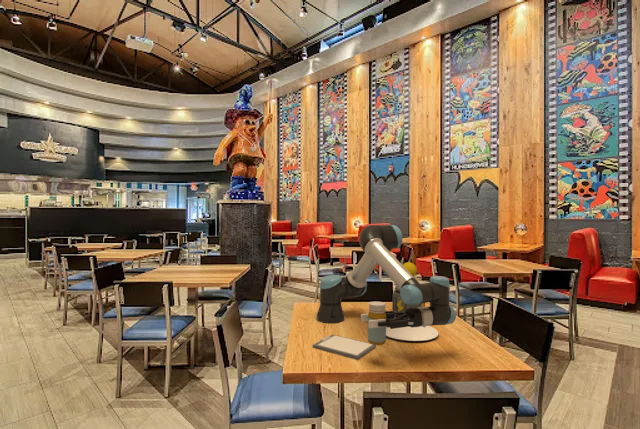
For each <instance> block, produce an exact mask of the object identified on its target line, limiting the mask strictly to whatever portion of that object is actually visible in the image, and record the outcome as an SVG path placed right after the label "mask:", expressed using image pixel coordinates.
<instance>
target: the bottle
mask: <svg viewBox="0 0 640 429" xmlns="http://www.w3.org/2000/svg"><path fill="white" fill-rule="evenodd" d="M368 303H369V304H368V312H367V314H368V321H367V341H368V342H367V343H370V344H373V345H376V346H382V345H384V344H386V342H387V336H386V326H385V327H378V328H369V320H379V319H385V320H386V314H385V311H386V303H385V302H382V301H377V300H376V301H369V302H368Z"/></svg>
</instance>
